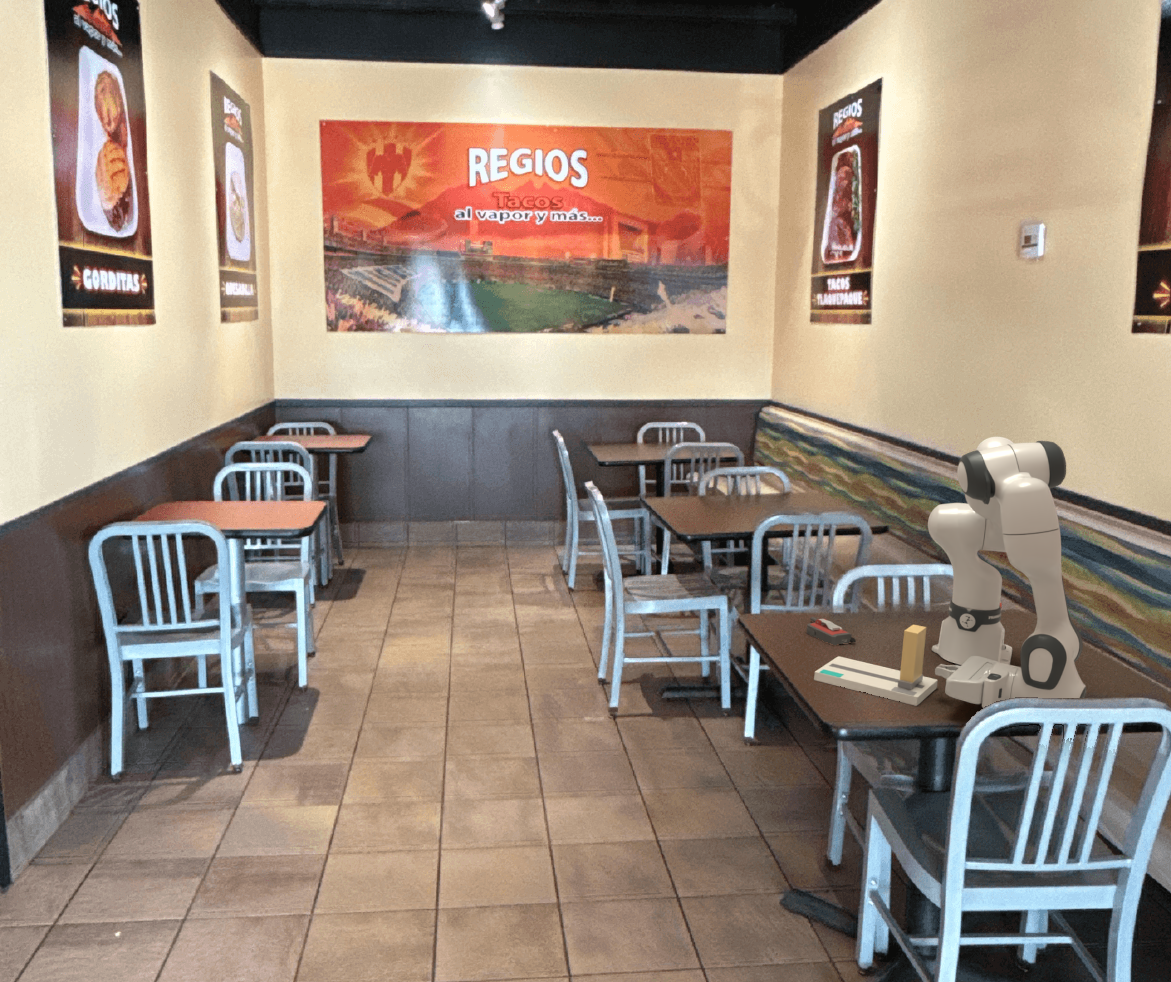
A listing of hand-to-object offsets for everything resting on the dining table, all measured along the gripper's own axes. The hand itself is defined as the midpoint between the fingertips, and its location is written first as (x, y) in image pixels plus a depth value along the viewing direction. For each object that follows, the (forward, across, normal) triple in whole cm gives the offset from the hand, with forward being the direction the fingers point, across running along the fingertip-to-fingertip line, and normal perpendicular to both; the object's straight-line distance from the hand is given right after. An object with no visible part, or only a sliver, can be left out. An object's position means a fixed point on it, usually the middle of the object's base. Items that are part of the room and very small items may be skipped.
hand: (937, 669), depth 232 cm
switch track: (+14, 0, +7) cm, 15 cm away
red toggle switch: (+37, -27, +8) cm, 47 cm away
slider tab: (+6, 0, +5) cm, 7 cm away
